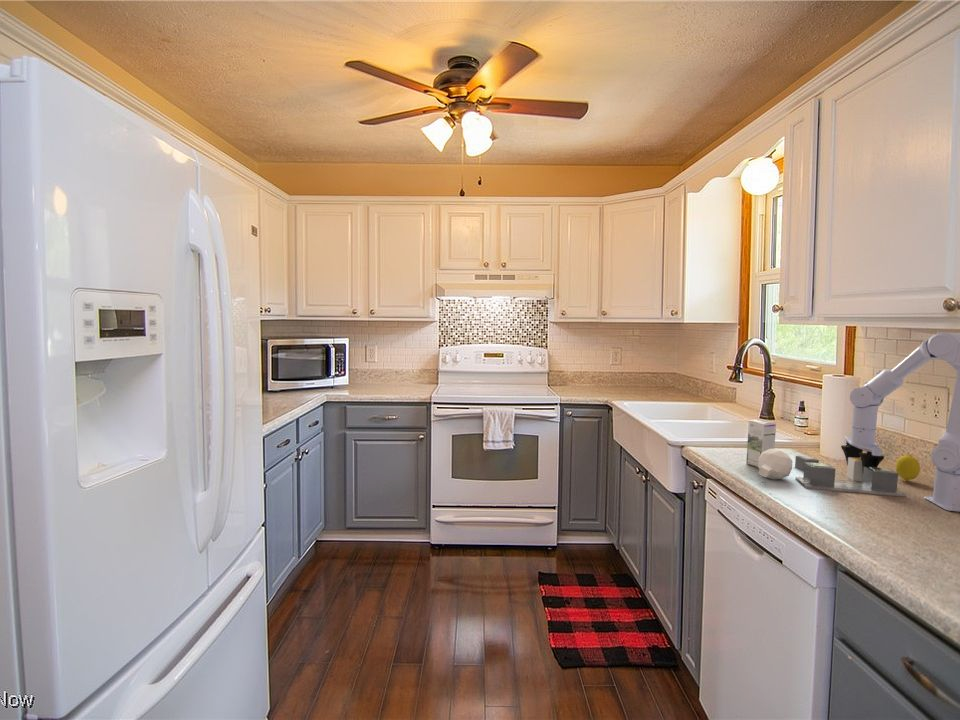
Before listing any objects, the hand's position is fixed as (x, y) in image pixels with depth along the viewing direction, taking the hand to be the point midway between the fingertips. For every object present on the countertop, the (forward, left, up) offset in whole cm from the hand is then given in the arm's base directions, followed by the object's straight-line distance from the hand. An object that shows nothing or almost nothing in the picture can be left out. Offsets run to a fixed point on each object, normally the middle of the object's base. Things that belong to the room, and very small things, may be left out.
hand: (859, 473), depth 154 cm
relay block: (+6, +12, -2) cm, 14 cm away
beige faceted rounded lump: (-7, +26, -2) cm, 27 cm away
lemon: (+2, -13, -2) cm, 13 cm away
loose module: (0, 0, -2) cm, 2 cm away
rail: (-10, +7, -2) cm, 12 cm away
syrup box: (+7, +25, -2) cm, 26 cm away
